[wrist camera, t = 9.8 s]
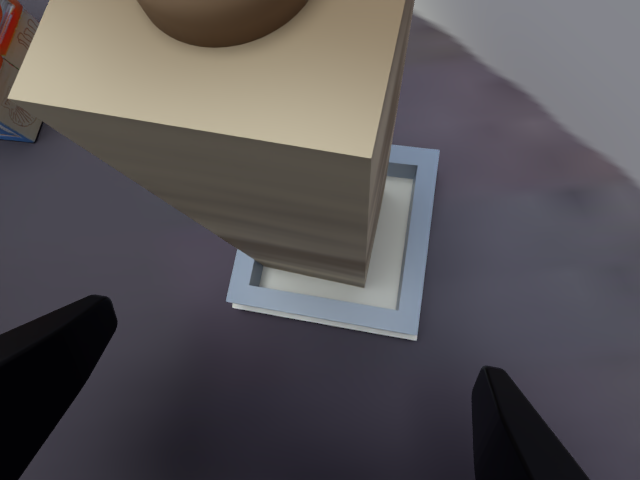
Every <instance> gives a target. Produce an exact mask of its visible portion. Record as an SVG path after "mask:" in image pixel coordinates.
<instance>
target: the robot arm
mask: <svg viewBox="0 0 640 480" xmlns="http://www.w3.org/2000/svg"><path fill="white" fill-rule="evenodd" d="M116 328H117V317H116V314H115V311H114V308H113V304H112V301H111V299H110V298H109V297H106V296H101V295H90V296H87V297H85V298H83V299H80V300H78V301H76V302H74V303H71V304H69V305H67V306H64V307H62V308H60V309H58V310H55V311H53V312H51V313H49V314H46V315H44V316H42V317H39V318H37V319H35V320H33V321H30V322H28V323H26V324H24V325H21V326H19V327H17V328H14V329H12V330H10V331H8V332H5V333H3V334H1V335H0V480H18V479H19V478H20V476H21V475H22V474H23V472H24V471H25V469H26V468H27V466H28V465H29V464H30V462H31V461H32V459H33V458H34V456H35V455H36V454H37V452H38V451H39V449H40V448H41V446H42V445H43V444H44V442H45V441H46V439H47V438H48V436H49V435H50V434H51V432H52V431H53V429H54V428H55V426H56V425H57V424H58V422H59V421H60V419H61V418H62V416H63V415H64V414H65V412H66V411H67V409H68V408H69V406H70V405H71V404H72V402H73V401H74V399H75V398H76V396H77V395H78V394H79V392H80V391H81V389H82V388H83V386H84V385H85V383H86V381H87V380H88V378H89V376H90V375H91V373H92V371H93V369H94V368H95V366H96V364H97V362H98V361H99V359H100V357H101V355H102V354H103V352H104V350H105V348H106V346H107V345H108V343H109V341H110V339H111V338H112V336H113V334H114V332H115V330H116ZM472 424H473V451H474V470H475V478H476V480H590V479H589V478H588V476H587V475H586V474H585V473H584V471H583V470H582V469H581V467H580V466H579V465H578V464H577V462H576V461H575V460H574V459H573V457H572V456H571V455H570V453H569V452H568V451H567V450H566V448H565V447H564V446H563V444H562V443H561V442H560V441H559V439H558V438H557V437H556V436H555V434H554V433H553V432H552V430H551V429H550V428H549V427H548V425H547V424H546V423H545V421H544V420H543V419H542V418H541V416H540V415H539V414H538V412H537V411H536V410H535V409H534V407H533V406H532V405H531V404H530V402H529V401H528V400H527V398H526V397H525V396H524V395H523V393H522V392H521V391H520V389H519V388H518V387H517V386H516V384H515V383H514V382H513V381H512V379H511V378H510V377H509V375H508V374H507V373H506V372H505V371H504V370H503V369H501V368H496V367H491V366H483V367H482V368H481V370H480V373H479V375H478V378H477V380H476V382H475V385H474V387H473V391H472Z"/></svg>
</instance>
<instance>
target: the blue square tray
mask: <svg viewBox="0 0 640 480" xmlns="http://www.w3.org/2000/svg"><path fill="white" fill-rule="evenodd" d="M439 151H440V150H435V149H426V148H417V147H408V146H399V145H391V152H390V158H389V164H388V170H387V177H386V183H385V189H384V195H383V199H382V204H381V209H380V214H379V219H378V224H377V229H376V234H375V239H374V243H373V248H372V253H371V258H370V263H369V268H368V273H367V278H366V283H365V287H364V288H361V287H356V286H352V285H347V284H343V283H338V282H333V281H329V280H324V279H319V278H315V277H310V276H306V275H301V274H296V273H292V272H287V271H283V270H278V269H273V268H269V267H265V266H263V265H262V264H260V263H259V262H257V261H255V260H254V259H252V258H251V257H249V256H248V255H246V254H245V253H243V252H242V251H240V250H239V249H237V254H236V258H235V263H234V267H233V272H232V276H231V281H230V285H229V289H228V294H227V298H226V302H231V303H233V306H232V308H236V309H242V310H248V311H253V312H259V313H264V314H270V315H275V316H281V317H287V318H292V319H298V320H303V321H309V322H314V323H320V324H325V325H331V326H337V327H342V328H348V329H353V330H359V331H364V332H370V333H375V334H381V335H387V336H392V337H398V338H403V339H409V340H414V341H417V334H418V326H419V317H420V309H421V301H422V292H423V284H424V276H425V267H426V259H427V251H428V242H429V234H430V226H431V217H432V209H433V201H434V192H435V184H436V176H437V167H438V159H439Z"/></svg>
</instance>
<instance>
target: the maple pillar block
mask: <svg viewBox="0 0 640 480" xmlns="http://www.w3.org/2000/svg"><path fill="white" fill-rule="evenodd" d="M414 1H415V0H50V1H49V3H48V5H47V7H46V10H45V12H44V14H43V17H42V19H41V21H40V24H39V26H38V28H37V31H36V33H35V35H34V38H33V40H32V42H31V44H30V47H29V49H28V51H27V54H26V56H25V58H24V61H23V63H22V65H21V68H20V70H19V72H18V75H17V77H16V79H15V81H14V84H13V86H12V88H11V91H10V93H9V95H8V98H7V99H9V100H10V101H12V102H14V103H15V104H17V105H18V106H20V107H21V108H23V109H24V110H26V111H27V112H29V113H30V114H32V115H33V116H35V117H37V118H38V119H40V120H41V121H43V122H44V123H46V124H47V125H49V126H50V127H52V128H53V129H55V130H56V131H58V132H59V133H61V134H63V135H64V136H66V137H67V138H69V139H70V140H72V141H73V142H75V143H76V144H78V145H79V146H81V147H82V148H84V149H86V150H87V151H89V152H90V153H92V154H93V155H95V156H96V157H98V158H99V159H101V160H102V161H104V162H105V163H107V164H108V165H110V166H112V167H113V168H115V169H116V170H118V171H119V172H121V173H122V174H124V175H125V176H127V177H128V178H130V179H131V180H133V181H135V182H136V183H138V184H139V185H141V186H142V187H144V188H145V189H147V190H148V191H150V192H151V193H153V194H154V195H156V196H157V197H159V198H161V199H162V200H164V201H165V202H167V203H168V204H170V205H171V206H173V207H174V208H176V209H177V210H179V211H180V212H182V213H183V214H185V215H187V216H188V217H190V218H191V219H193V220H194V221H196V222H197V223H199V224H200V225H202V226H203V227H205V228H206V229H208V230H210V231H211V232H213V233H214V234H216V235H217V236H219V237H220V238H222V239H223V240H225V241H226V242H228V243H229V244H231V245H232V246H234V247H236V248H237V249H239V250H240V251H242V252H243V253H245V254H246V255H248V256H249V257H251V258H252V259H254V260H255V261H257V262H259V263H260V264H262V265H263V266H265V267H269V268H273V269H278V270H283V271H287V272H292V273H296V274H301V275H306V276H310V277H315V278H319V279H324V280H329V281H333V282H338V283H343V284H347V285H352V286H356V287H361V288H364V287H365V283H366V278H367V273H368V268H369V263H370V258H371V253H372V248H373V243H374V239H375V234H376V229H377V224H378V219H379V214H380V209H381V204H382V199H383V195H384V189H385V183H386V177H387V170H388V164H389V158H390V152H391V145H392V139H393V133H394V126H395V120H396V114H397V108H398V101H399V95H400V89H401V82H402V76H403V70H404V64H405V57H406V51H407V45H408V38H409V32H410V26H411V19H412V13H413V7H414Z"/></svg>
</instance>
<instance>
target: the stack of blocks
mask: <svg viewBox="0 0 640 480" xmlns="http://www.w3.org/2000/svg"><path fill="white" fill-rule="evenodd" d="M39 24H40V23H39V22H38V21H37V20H36V19H35V18H34V17H32V16H31V15H30V14H29V13H28V12H27V11H26V10H24V9H23V7H22V5H21V4H20V3H19V2H18V1H17V0H0V139H3V140H14V141H23V142H35V139H36V137H37V134H38V131H39V128H40V125H41V123H42V121H41V120H40V119H38V118H37V117H35V116H33V115H32V114H30V113H29V112H27V111H26V110H24V109H23V108H21V107H20V106H18V105H17V104H15V103H14V102H12V101H10V100H9V99H7V98H8V95H9V93H10V91H11V88H12V86H13V84H14V81H15V79H16V77H17V75H18V72H19V70H20V68H21V65H22V63H23V61H24V58H25V56H26V54H27V51H28V49H29V47H30V44H31V42H32V40H33V38H34V35H35V33H36V31H37V28H38V26H39Z"/></svg>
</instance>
